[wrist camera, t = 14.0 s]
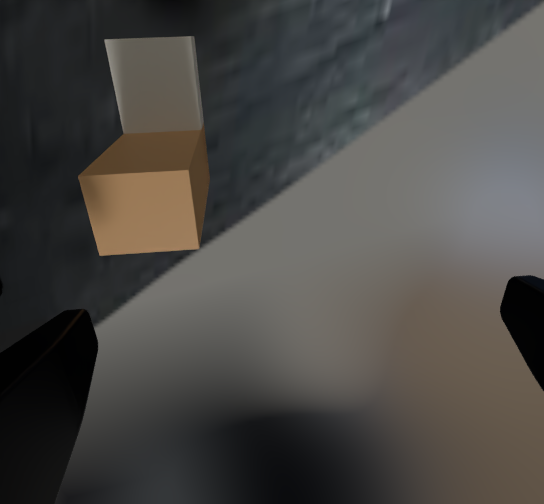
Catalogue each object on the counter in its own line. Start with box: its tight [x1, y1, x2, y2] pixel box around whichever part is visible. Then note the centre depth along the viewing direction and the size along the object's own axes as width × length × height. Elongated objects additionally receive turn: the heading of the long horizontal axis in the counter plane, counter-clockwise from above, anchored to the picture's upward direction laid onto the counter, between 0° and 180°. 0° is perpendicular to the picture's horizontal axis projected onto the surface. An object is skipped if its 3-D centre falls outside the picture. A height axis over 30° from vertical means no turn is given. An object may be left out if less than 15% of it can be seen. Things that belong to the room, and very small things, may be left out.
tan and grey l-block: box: [78, 36, 210, 256], centre depth 11 cm, size 2×5×6 cm, turn 2°
